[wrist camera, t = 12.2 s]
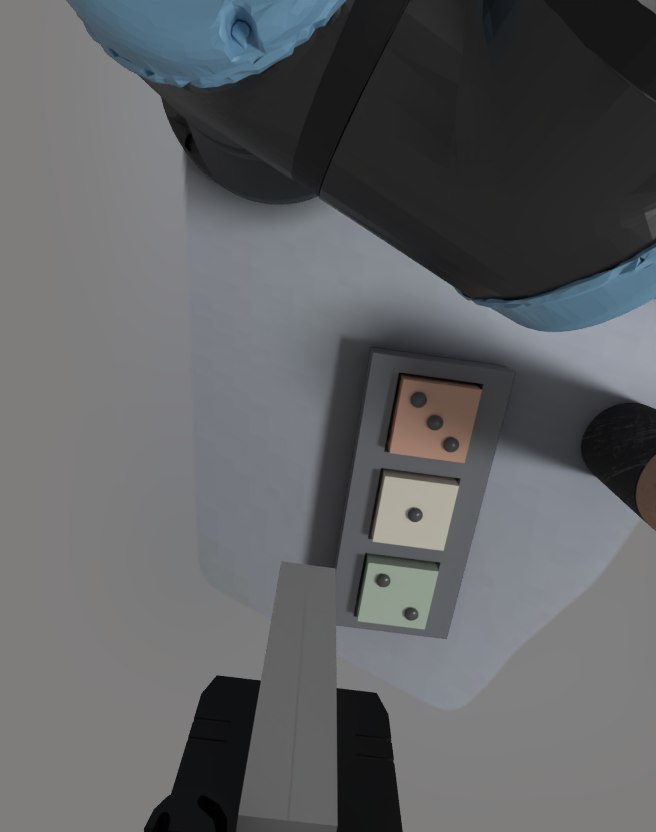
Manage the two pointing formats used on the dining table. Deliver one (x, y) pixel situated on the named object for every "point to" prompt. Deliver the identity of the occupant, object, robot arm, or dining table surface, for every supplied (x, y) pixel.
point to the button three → (432, 417)
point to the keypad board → (376, 455)
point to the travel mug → (625, 455)
